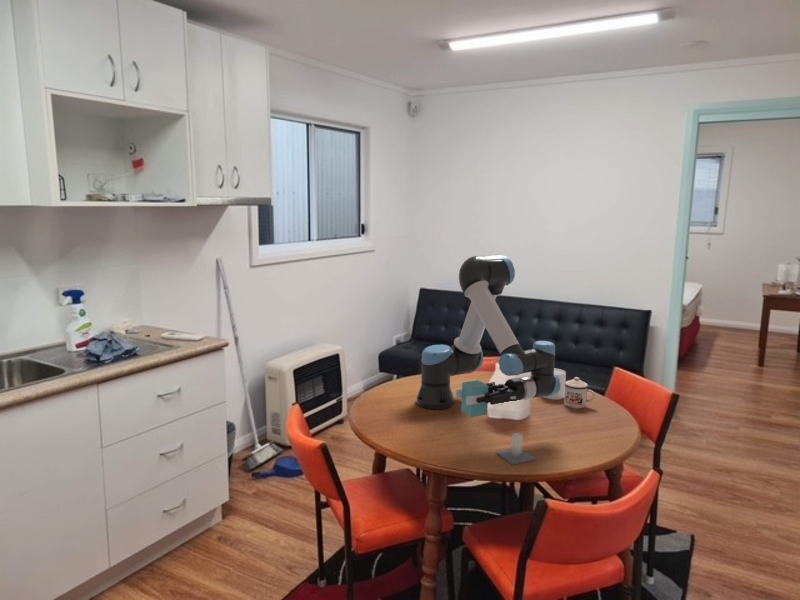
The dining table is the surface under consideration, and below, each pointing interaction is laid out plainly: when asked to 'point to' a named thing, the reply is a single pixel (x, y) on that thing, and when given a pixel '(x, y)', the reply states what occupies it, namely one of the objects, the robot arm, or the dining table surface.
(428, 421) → the dining table surface
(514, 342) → the robot arm
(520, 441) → the post
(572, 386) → the teacup with lid
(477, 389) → the teal rectangular prism
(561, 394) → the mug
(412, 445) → the dining table surface
